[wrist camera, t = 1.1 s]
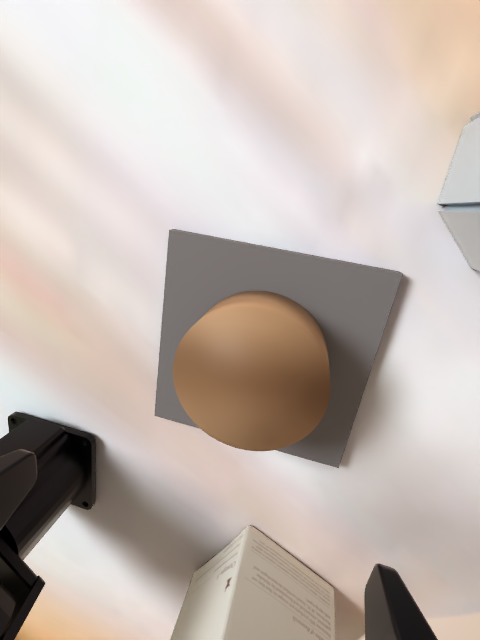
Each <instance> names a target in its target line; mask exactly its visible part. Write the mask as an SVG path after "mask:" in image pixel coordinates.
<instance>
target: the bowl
mask: <svg viewBox="0 0 480 640" xmlns="http://www.w3.org/2000/svg"><path fill="white" fill-rule="evenodd" d="M470 119H471V121H472V122H470V123H469V124H467V125H465V126H464V128H463V131H462V134H461V137H460V140H459V142H458V145H457V148H456V151H455V154H454V157H453V160H452V163H451V166H450V169H449V172H448V175H447V178H446V180H445V183H444V186H443V189H442V192H441V195H440V198H439V201H438V204H443V205H447V206H446V207H444V208H442V209H441V210H439V211H438V212H439V214H440V215H441V217H442V219H443V221H444V222H445V224H446V226H447V227H448V229H449V231H450V233H451V234H452V236H453V238H454V240H455V241H456V243H457V245H458V246H459V248H460V250H461V252H462V253H463V255H464V257H465V259H466V260H467V262H468V264H469V265H470V267H471V268H472V269H475V270H477V272H478V273H480V112H478V113H477V114H476V115H474V116H473V117H471V118H470Z"/></svg>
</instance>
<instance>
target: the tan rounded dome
mask: <svg viewBox="0 0 480 640" xmlns="http://www.w3.org/2000/svg"><path fill="white" fill-rule="evenodd" d="M173 381H174V386H175V390H176V393H177V396H178V399H179V401H180V403H181V405H182V407H183V408H184V410H185V411H186V413H187V414H188V416H189V417H190V418H191V419H192V420H193V422H194V423H195V424H196V425H197V426H198V427H199V428H201V429H202V430H203V431H204V432H206V433H207V434H208V435H210V436H211V437H213V438H215V439H216V440H218V441H220V442H222V443H224V444H227V445H229V446H232V447H235V448H239V449H244V450H251V451H270V450H276V449H281V448H284V447H287V446H290V445H292V444H294V443H296V442H298V441H300V440H302V439H303V438H304V437H306V436H307V435H308V434H309V433H311V432H312V431H313V430H314V429H315V428H316V426H317V425H318V424H319V422H320V421H321V419H322V417H323V416H324V414H325V412H326V409H327V406H328V403H329V398H330V386H331V385H330V371H329V358H328V347H327V343H326V339H325V337H324V334H323V332H322V330H321V328H320V326H319V324H318V323H317V321H316V320H315V319H314V317H313V316H312V315H311V314H310V313H309V312H308V311H307V310H306V309H305V308H304V307H302V306H301V305H300V304H298V303H297V302H295V301H293V300H292V299H290V298H288V297H285V296H283V295H280V294H277V293H273V292H268V291H245V292H240V293H236V294H233V295H231V296H229V297H226V298H225V299H223V300H221V301H220V302H218V303H217V304H216V305H214V306H213V307H212V308H211V309H210V310H209V311H208V312H207V313H206V314H205V315H204V316H203V317H202V318H201V319H199V320H198V321H197V322H196V323H195V324H194V325H193V326H192V327H191V328H190V329H189V330H188V331H187V333H186V334H185V335H184V337H183V338H182V340H181V341H180V344H179V346H178V348H177V350H176V353H175V357H174V363H173Z"/></svg>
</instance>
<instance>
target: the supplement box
mask: <svg viewBox="0 0 480 640" xmlns="http://www.w3.org/2000/svg"><path fill="white" fill-rule="evenodd" d="M170 640H336V631H335V601H334V588H333V587H332V586H330V585H329V584H328V583H327V582H325V581H324V580H323V579H322V578H320V577H319V576H318V575H316V574H315V573H314V572H312V571H311V570H310V569H308V568H307V567H306V566H305V565H303V564H302V563H301V562H299V561H298V560H297V559H295V558H294V557H293V556H292V555H290V554H289V553H288V552H287V551H285V550H284V549H282V548H281V547H280V546H278V545H277V544H276V543H274V542H273V541H272V540H270V539H269V538H268V537H266V536H265V535H264V534H263V533H261V532H260V531H259V530H257V529H255V528H254V527H253V526H251V525H250V526H247V527H246V528H245V529H244V530H243V531H242V532H241V533H240V534H239V535H238V536H237V537H236V538H235V539H234V540H233V541H232V542H231V543H230V544H229V545H228V546H226V547H225V548H224V549H223V550H222V551H221V552H219V553H218V554H217V555H216V556H214V557H213V558H212V559H211V560H210V561H208V562H207V563H206V564H205V565H203V566H202V567H201V568H199V569H198V570H197V571H195V572H194V574H193V577H192V580H191V582H190V585H189V588H188V591H187V594H186V597H185V600H184V602H183V605H182V608H181V611H180V614H179V616H178V619H177V622H176V625H175V628H174V631H173V633H172V636H171V639H170Z"/></svg>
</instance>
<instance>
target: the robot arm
mask: <svg viewBox="0 0 480 640" xmlns="http://www.w3.org/2000/svg"><path fill="white" fill-rule="evenodd" d="M8 425H9V433H8V434H6V435H5V436H4V437H2V438H1V439H0V640H14V639H15V637H16V635H17V634H18V632H19V630H20V628H21V626H22V625H23V623H24V621H25V619H26V617H27V616H28V614H29V612H30V610H31V608H32V607H33V605H34V603H35V601H36V599H37V598H38V596H39V594H40V592H41V590H42V588H43V587H44V585H45V582H44V581H43V579H42V578H41V577H40V576H36V575H35V574H34V572H33V571H32V570H31V569H30V568H29V567H28V566H27V565H26V563H25V562H24V561H23V560H24V558H25V557H26V556H27V555H28V554H29V552H30V551H31V550H32V549H33V548H34V546H35V545H36V544H37V543H38V542H39V541H40V539H41V538H42V537H43V536H44V535H45V533H46V532H47V531H48V530H49V529H50V528H51V526H52V525H53V524H54V523H55V522H56V520H57V519H58V518H59V517H60V516H61V515H62V513H63V512H64V511H65V510H66V509H67V507H68V506H69V505H70V504H72V505H75V506H78V507H80V508H83V509H87V510H89V509H91V508H92V506H93V505H94V504H95V438H94V437H93V436H92V435H91V434H89V433H85V432H82V431H79V430H75V429H72V428H69V427H66V426H62V425H59V424H56V423H52V422H49V421H46V420H43V419H39V418H36V417H33V416H29V415H26V414H23V413H20V412H14V413H13V414H11V415H10V416H9V417H8ZM365 640H438V639H437V638H436V636H435V635H434V632H433V631H432V629H431V628H430V626H429V624H428V622H427V621H426V619H425V617H424V616H423V614H422V612H421V611H420V609H419V607H418V606H417V604H416V602H415V601H414V599H413V597H412V596H411V594H410V592H409V591H408V589H407V587H406V586H405V584H404V582H403V581H402V579H401V577H400V576H399V574H398V572H397V571H396V570H395V569H393V568H391V567H388V566H385V565H382V564H376V565H375V566H374V568H373V571H372V573H371V575H370V578H369V580H368V582H367V584H366V588H365Z"/></svg>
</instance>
